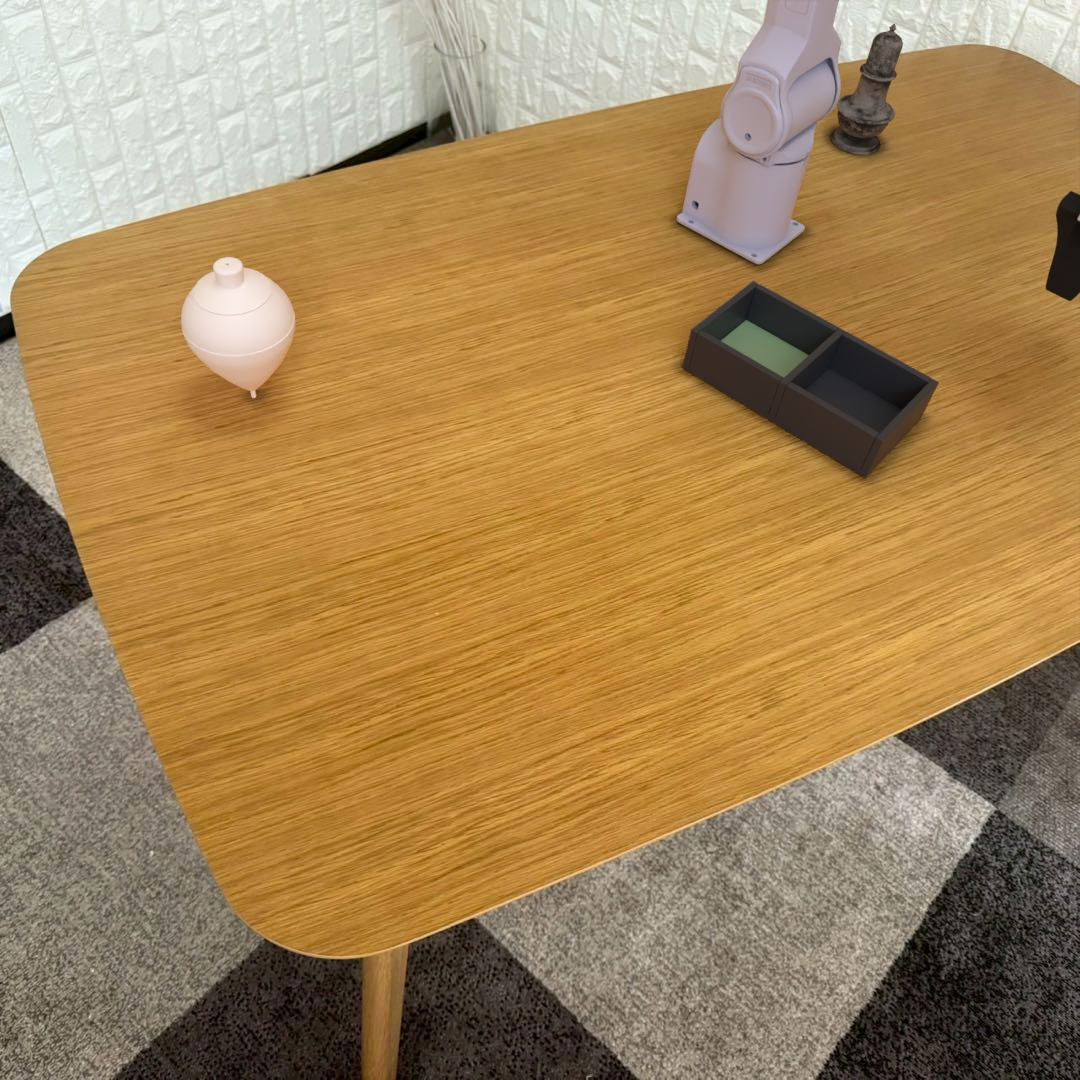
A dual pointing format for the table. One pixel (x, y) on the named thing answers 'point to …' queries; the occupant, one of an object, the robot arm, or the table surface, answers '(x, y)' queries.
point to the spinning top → (238, 323)
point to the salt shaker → (869, 98)
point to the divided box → (809, 377)
